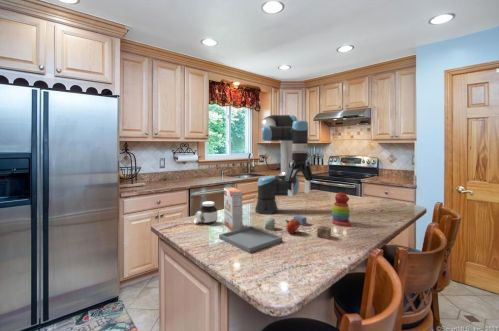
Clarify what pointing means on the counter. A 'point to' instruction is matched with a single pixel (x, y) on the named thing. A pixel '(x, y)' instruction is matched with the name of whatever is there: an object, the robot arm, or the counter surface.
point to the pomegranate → (292, 226)
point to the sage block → (269, 224)
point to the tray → (250, 238)
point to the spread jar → (206, 213)
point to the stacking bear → (341, 210)
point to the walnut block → (324, 232)
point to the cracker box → (233, 208)
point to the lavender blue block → (301, 219)
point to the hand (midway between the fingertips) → (299, 194)
